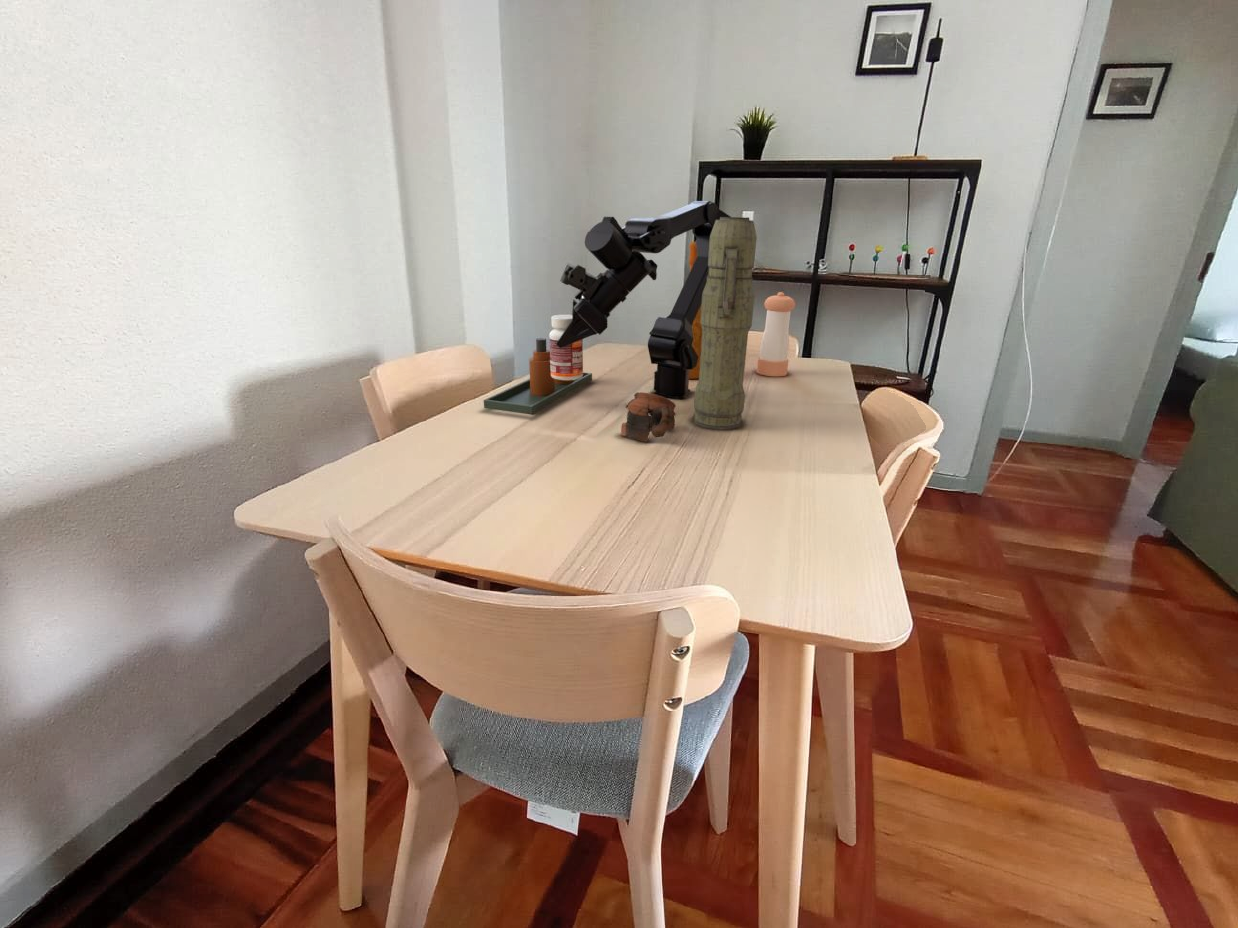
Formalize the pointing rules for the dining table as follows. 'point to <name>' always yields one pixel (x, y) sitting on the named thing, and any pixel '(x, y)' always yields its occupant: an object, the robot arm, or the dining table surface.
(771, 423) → the dining table surface
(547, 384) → the amber bottle middle
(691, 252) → the wine bottle
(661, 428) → the brown rough arched piece
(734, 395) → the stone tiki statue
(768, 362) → the pepper shaker
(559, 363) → the pill bottle
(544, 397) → the tray
